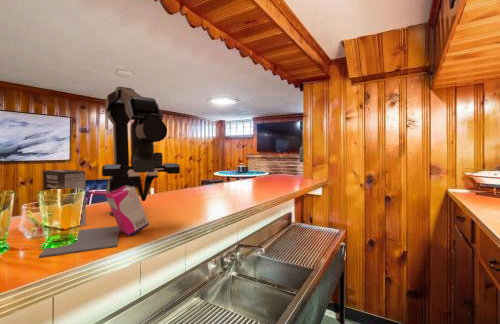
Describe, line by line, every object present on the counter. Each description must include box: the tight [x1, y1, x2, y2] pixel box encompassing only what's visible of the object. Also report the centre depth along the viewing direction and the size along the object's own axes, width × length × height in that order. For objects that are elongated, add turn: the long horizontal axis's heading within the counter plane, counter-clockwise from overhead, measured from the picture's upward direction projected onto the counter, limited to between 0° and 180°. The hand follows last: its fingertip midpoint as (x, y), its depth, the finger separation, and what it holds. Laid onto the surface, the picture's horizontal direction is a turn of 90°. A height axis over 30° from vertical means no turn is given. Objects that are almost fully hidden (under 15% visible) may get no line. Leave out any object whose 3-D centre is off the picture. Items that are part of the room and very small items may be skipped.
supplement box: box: [104, 185, 150, 237], centre depth 64 cm, size 6×6×12 cm
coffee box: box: [42, 169, 87, 227], centre depth 70 cm, size 9×6×16 cm
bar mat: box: [38, 225, 121, 259], centre depth 60 cm, size 16×14×1 cm
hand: (143, 200), depth 66 cm, fingers closed
